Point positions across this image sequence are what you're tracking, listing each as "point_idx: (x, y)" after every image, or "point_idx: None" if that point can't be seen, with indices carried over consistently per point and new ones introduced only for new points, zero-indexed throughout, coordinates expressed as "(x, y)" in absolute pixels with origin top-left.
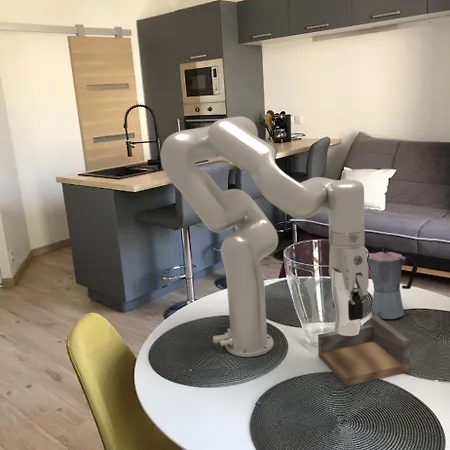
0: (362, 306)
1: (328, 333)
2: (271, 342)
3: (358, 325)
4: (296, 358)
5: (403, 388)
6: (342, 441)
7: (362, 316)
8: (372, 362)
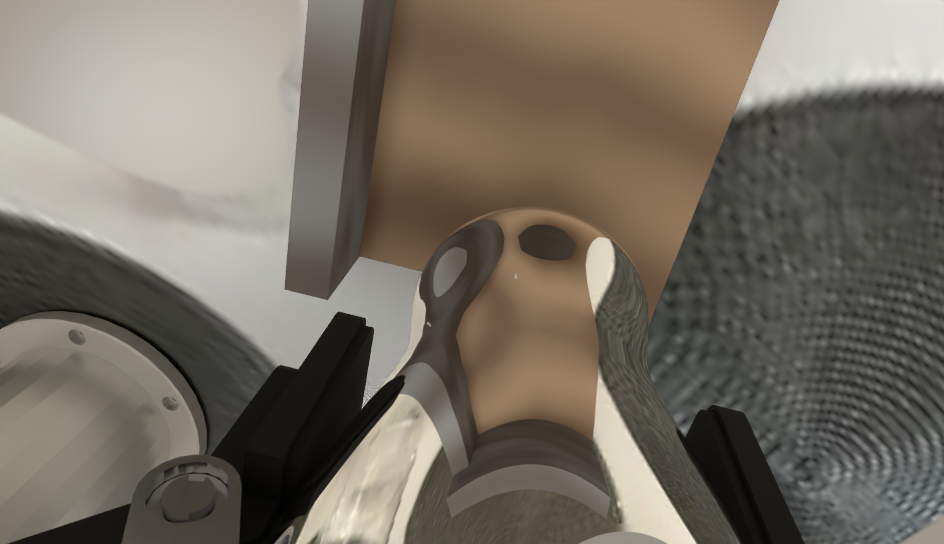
0: (791, 524)
1: (303, 226)
2: (131, 356)
3: (644, 334)
4: (300, 322)
5: (878, 82)
6: (880, 536)
7: (743, 419)
8: (630, 95)
